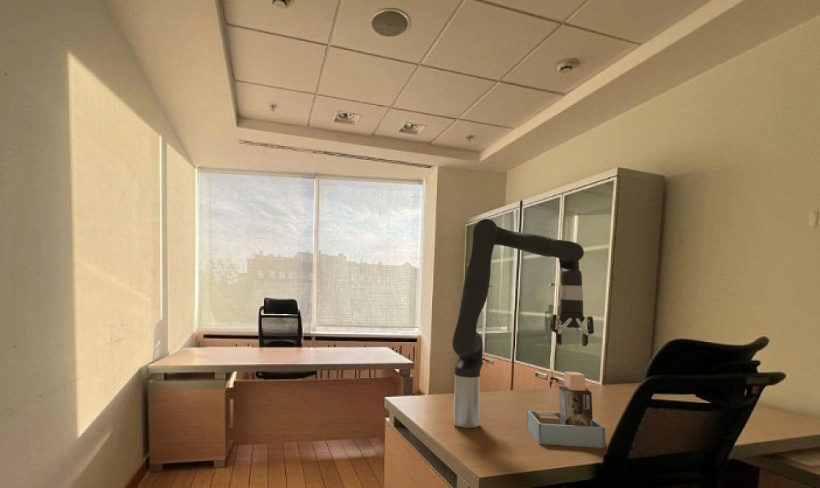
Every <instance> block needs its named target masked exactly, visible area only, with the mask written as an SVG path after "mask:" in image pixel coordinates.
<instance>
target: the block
mask: <svg viewBox="0 0 820 488" xmlns="http://www.w3.org/2000/svg"><path fill="white" fill-rule="evenodd" d="M536 418H537V420H538V421H539V422H540V423H541V424H558V425H559V418H558V417H557V416H556V415H555V414H554V413H545V412H536Z"/></svg>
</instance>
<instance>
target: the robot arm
mask: <svg viewBox="0 0 820 488" xmlns="http://www.w3.org/2000/svg"><path fill="white" fill-rule="evenodd" d="M495 246H502V247H508V248H512V249H515V250H518V251H519V250H520V251H523V252H527V253H530V254H534V255H539V256H541V257H545V258H546V257H548V258H549V257H552V258H557V259H558V263H559V269H560V290H559V308H560V309H559V310H560V311H559V314H558V315H557V314H555V313H552V314H551V315H550V327H549V329H550V331H551V332H553V333H555V343H557V345H559V346H562V342H563V341H562V339H563V338H562V332H563V331H564V330H566V328H569V329H571V328H573V329H578V330H579V331H580V333H582V334H581V345H582V346H583V347H587V346H588V345H589V335H593V334H594V333H595V329H594V317H593V316H592V315H591V316H590V315H587V316H585V315H584V290H583V274H582V271H581V270H580V263H579V261H580V260H582V258H583V257H584V254H585V252H584V251H585V250H584V248H583V246H582V245H580V244H579V243H578V242H574V241H570V240H564V239H563V240H562V239H554V238H551V237H548V236H543V235H539V234H534V233H527V232H521V231H520V232H519V231H513V230H509V229H505V228H503V227H500V226H498V225H497V224H496V222H495V221H494V220H492V219H490V218H488V217H487V218H486V217H485V218H481V219H479V220H478V221H477V222H475V224H474V226H473V229H472V247H471V254H470V259H469V262H468V266H467V268H466V273H465V276H464V282H463V288H462V294H461V301H460V307H459V313H458V319H457V322H456V327H455V329H454V332H453V337H452V348H453V349H452V350H453V351H454V353H455V354H456V355H457V356H458V361H457V363H456V364H455V366H454V390H453V391H454V394H453V420H452V421H453V425H454V427H455V426H456V427H460V428H465V429H473V428H474V429H476V428H477V427H480V415H481V413H480V409H481V408H480V406H481V405H480V403H481V401H480V399H481V398H480V397H481V393H480V392H481V370H482V367H483V366H482V365H483V355H484V354H483V349H484V347H483V346H484V343H483V338H482V337H481V334H480V333H479V332H477V325H478V321H479V318H480V315H481V313H482V310H483V309H484V306H485V304H486V302H487V298H488V294H489V289H490V282H491V271H492V270H491V267H492V266H491V265H492V256H493V252H494V247H495ZM559 320H560V323H559V325H558V327H557V321H559ZM584 321H585V323H586V327H587V329H586V327H585V325H584V324H583V322H584Z"/></svg>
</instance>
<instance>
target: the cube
mask: <svg viewBox="0 0 820 488" xmlns="http://www.w3.org/2000/svg"><path fill="white" fill-rule="evenodd" d="M563 372H564V374H563V375H564V386H565V387H566V388H568V389H570V390H580V391H585V388H586V375H585V374H583V373H581V372H579V371H563Z"/></svg>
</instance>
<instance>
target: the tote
mask: <svg viewBox="0 0 820 488" xmlns="http://www.w3.org/2000/svg"><path fill="white" fill-rule="evenodd" d="M536 412H545V413H554V414H555V415H556V416H557V417H558V418H559V425H558V424H541V423H540V422H539V421H538V420H537V418H536ZM526 416H527V419H526V420H527V422H526V423H527V429H528V431H529V432H530V433H531V435H532V436H533V438H534V439H535V440H536V442H537V443H538V444H539V445H550V446H551V445H552V446H564V447H566V446H567V447H580V448H581V447H582V448H599V449H606V428H605V427H604V426H603V425H601V424H600V423H599V422H598V421H596V420H595V419H594V418H593V427H592V426H575V425H560V411H559V412H558V411H543V410H527V415H526Z"/></svg>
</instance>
